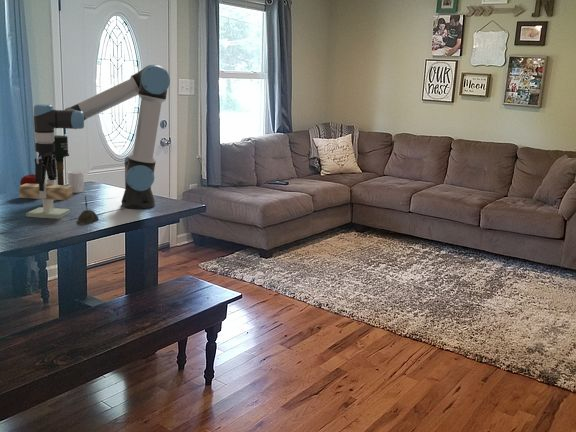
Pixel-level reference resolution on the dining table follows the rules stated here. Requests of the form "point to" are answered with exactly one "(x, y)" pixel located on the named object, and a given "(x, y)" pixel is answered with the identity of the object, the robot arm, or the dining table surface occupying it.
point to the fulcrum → (48, 211)
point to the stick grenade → (60, 155)
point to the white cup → (76, 181)
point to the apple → (28, 179)
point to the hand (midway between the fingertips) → (47, 196)
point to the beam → (51, 191)
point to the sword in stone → (87, 216)
